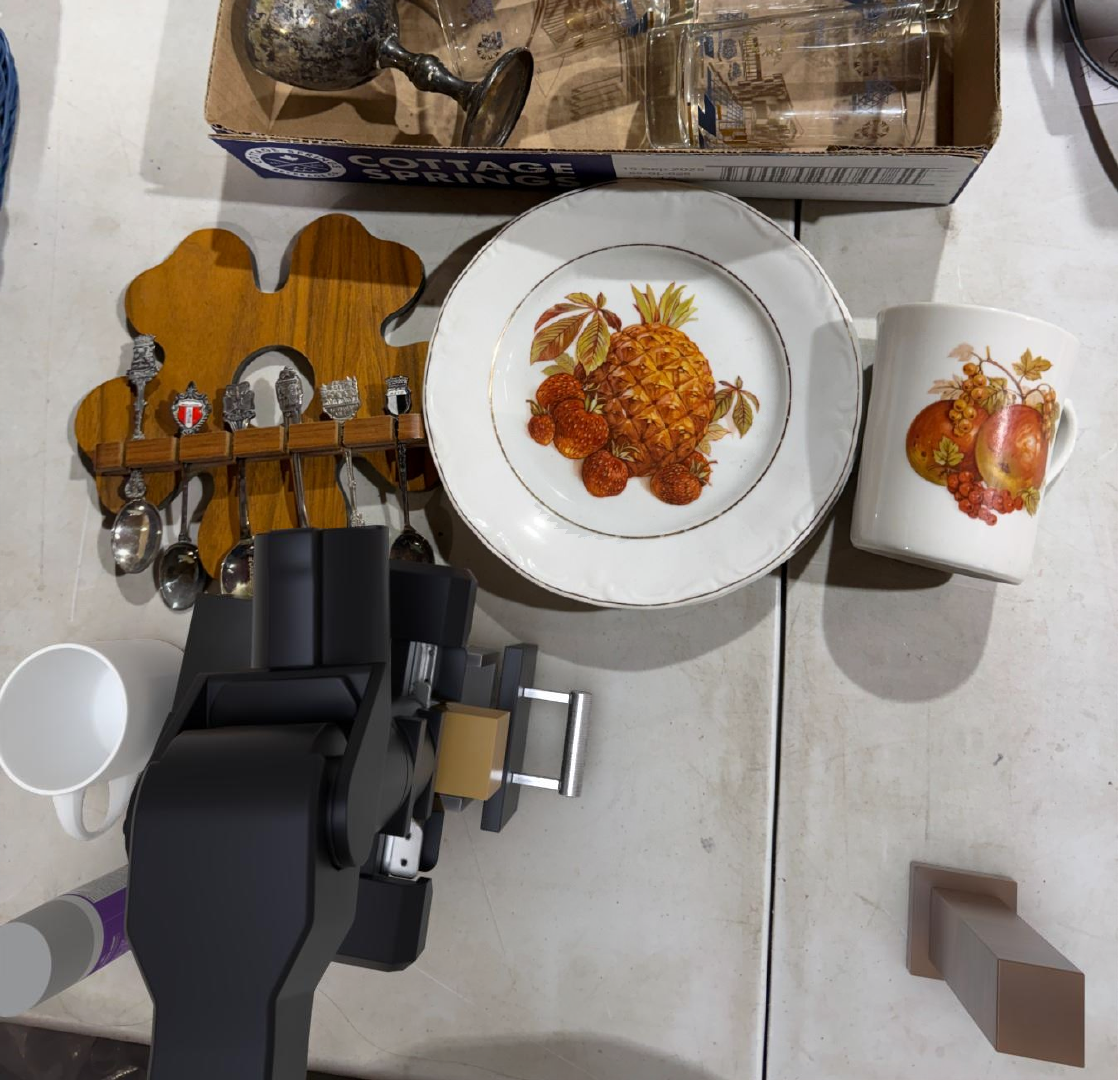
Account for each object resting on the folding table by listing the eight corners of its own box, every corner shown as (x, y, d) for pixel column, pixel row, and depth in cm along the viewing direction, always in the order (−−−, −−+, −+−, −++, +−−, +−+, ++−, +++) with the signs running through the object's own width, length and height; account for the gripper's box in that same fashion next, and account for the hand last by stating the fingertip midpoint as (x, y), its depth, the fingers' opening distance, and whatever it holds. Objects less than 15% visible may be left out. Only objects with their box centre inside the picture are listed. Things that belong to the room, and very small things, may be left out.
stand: (1009, 986, 61) (1108, 1098, 47) (906, 968, 62) (973, 1072, 48) (1011, 877, 62) (1107, 954, 48) (910, 861, 63) (976, 932, 49)
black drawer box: (422, 618, 70) (388, 619, 62) (394, 798, 67) (355, 824, 59) (251, 594, 72) (196, 592, 64) (216, 768, 69) (154, 789, 61)
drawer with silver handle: (601, 653, 68) (594, 658, 61) (582, 822, 65) (572, 846, 58) (374, 621, 70) (343, 622, 63) (347, 783, 67) (311, 801, 61)
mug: (74, 819, 69) (-30, 856, 59) (98, 636, 72) (2, 641, 62) (194, 824, 68) (109, 863, 58) (213, 639, 72) (135, 644, 61)
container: (182, 934, 67) (46, 1023, 52) (114, 930, 67) (-38, 1017, 53) (189, 856, 68) (59, 921, 54) (123, 853, 68) (-23, 917, 54)
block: (500, 787, 56) (486, 801, 52) (430, 776, 57) (412, 788, 53) (510, 711, 57) (497, 719, 53) (441, 701, 58) (424, 708, 54)
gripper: (215, 533, 48) (325, 552, 63) (121, 977, 43) (264, 883, 58) (446, 563, 46) (502, 575, 61) (374, 1028, 41) (454, 918, 56)
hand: (427, 732), depth 59 cm, fingers closed on block, 4 cm apart
